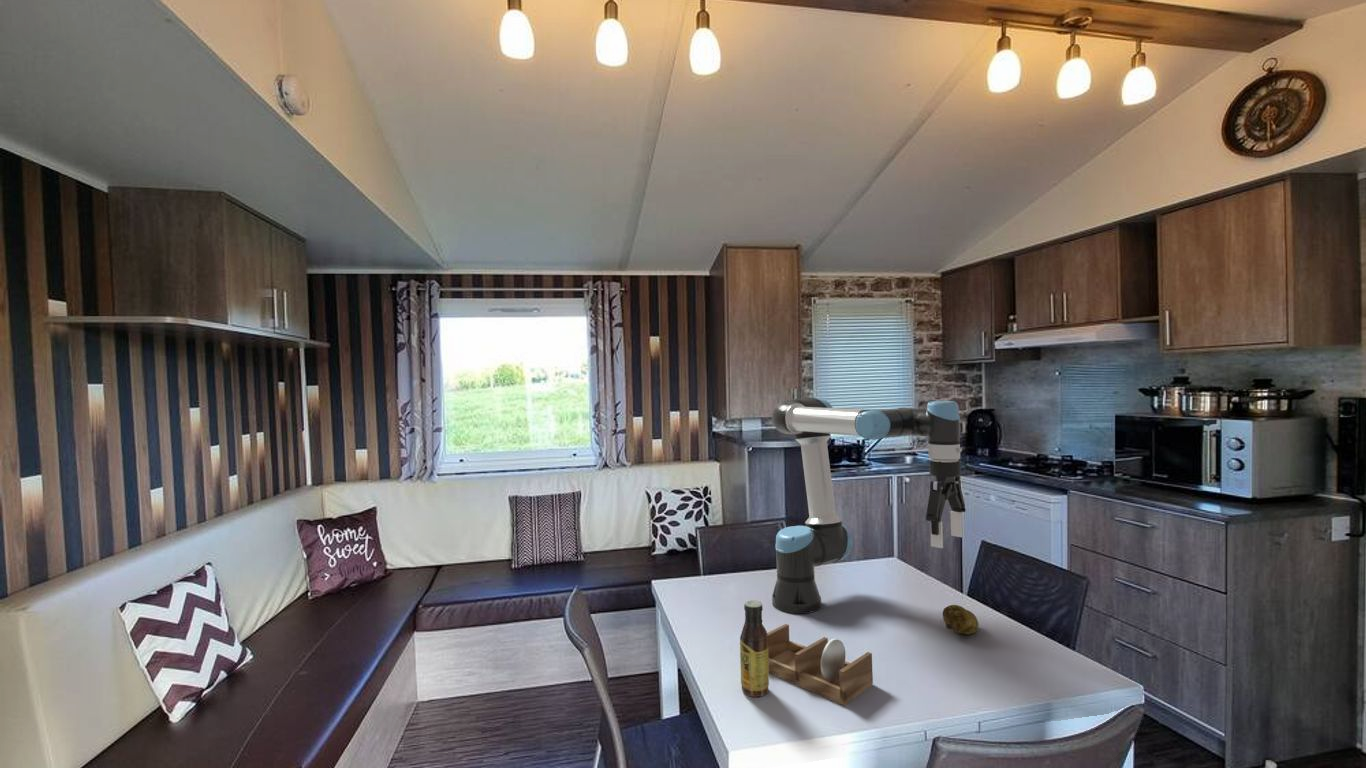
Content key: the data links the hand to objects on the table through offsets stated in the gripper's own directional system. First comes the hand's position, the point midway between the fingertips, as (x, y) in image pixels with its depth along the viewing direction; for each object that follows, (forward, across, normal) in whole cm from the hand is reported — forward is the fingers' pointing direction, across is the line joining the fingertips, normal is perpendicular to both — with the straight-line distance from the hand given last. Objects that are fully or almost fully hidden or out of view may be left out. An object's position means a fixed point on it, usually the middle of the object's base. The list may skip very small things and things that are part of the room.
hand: (947, 541), depth 147 cm
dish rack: (+27, -38, +17) cm, 50 cm away
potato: (+27, +8, 0) cm, 28 cm away
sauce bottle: (+27, -53, +23) cm, 63 cm away
